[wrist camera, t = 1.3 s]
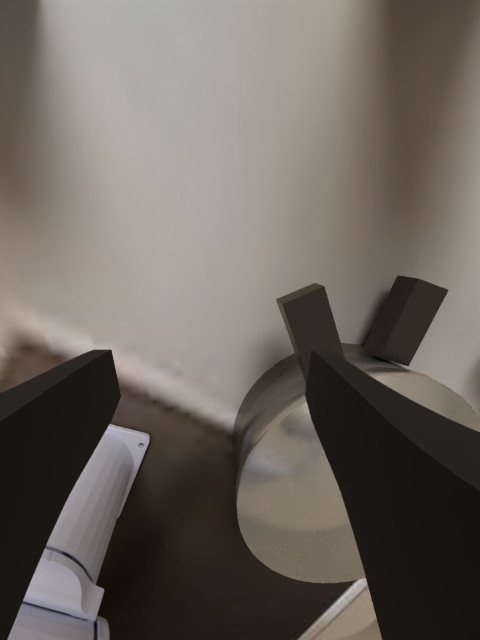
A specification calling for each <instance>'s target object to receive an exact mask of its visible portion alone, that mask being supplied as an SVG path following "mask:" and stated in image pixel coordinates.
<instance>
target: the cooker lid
mask: <svg viewBox="0 0 480 640" xmlns="http://www.w3.org/2000/svg"><path fill="white" fill-rule="evenodd" d="M276 301H277V303H278V306H279V309H280V312H281V315H282V317H283V320H284V323H285V326H286V329H287V331H288V334H289V337H290V340H291V343H292V345H293V348H294V351H295V354H296V357H297V359H298V362H299V365H300V368H301V371H302V373H303V376H304V379H305V382H306V384H307V377H308V370H309V364H310V357H311V350H329V351H331V352H333V353H335V354H337V355H338V356H340V357H342V358H343V359H345V357H344V353H343V350H342V346H341V343H340V339H339V336H338V332H337V329H336V325H335V322H334V318H333V315H332V312H331V308H330V305H329V301H328V298H327V294H326V291H325V287H324V286H322V285H319V284H316V283H314V284H311V285H309V286H307V287H304V288H302V289H299V290H297V291H295V292H292V293H290V294H288V295H285V296H283V297H280V298H278V299H276ZM360 370H362V371H363V372H365V373H367V374H368V375H370V376H371V377H373V378H374V379H376V380H378V381H379V382H381V383H383V384H384V385H386V386H388V387H389V388H391V389H393V390H395V391H396V392H398V393H400V394H402V395H403V396H405V397H407V398H409V399H411V400H413V401H414V402H416V403H418V404H420V405H422V406H424V407H426V408H428V409H430V410H432V411H434V412H436V413H438V414H440V415H442V416H444V417H446V418H449V419H451V420H453V421H455V422H457V423H459V424H462V425H464V426H466V427H468V428H471V429H473V430H476V431H478V432H480V421H479V418H478V417H477V415H476V413H475V412H474V410H473V409H472V407H471V406H470V405H469V404H468V403H467V402H466V401H465V400H464V399H463V398H462V397H461V396H460V395H458V394H457V393H455V392H454V391H453V390H451V389H450V388H448V387H446V386H445V385H443V384H441V383H439V382H438V381H436V380H434V379H432V378H430V377H428V376H426V375H424V374H421V373H418V372H415V371H411V370H407V369H401V368H394V367H374V368H365V369H360ZM305 391H306V389H305V390H303V391H302V392H300V393H298V394H297V395H295V396H294V397H292V398H291V399H290V400H288V401H287V402H286V403H285V404H283V405H282V406H281V407H280V408H278V409H277V410H276V411H275V412H274V413H273V414H272V415H271V416H270V417H269V418H268V419H267V420H266V421H265V422H264V424H263V425H262V426H261V428H260V429H259V430H258V431H257V433H256V434H255V435H254V437H253V439H252V440H251V442H250V444H249V445H248V447H247V449H246V451H245V453H244V455H243V458H242V460H241V463H240V466H239V470H238V473H237V477H236V487H235V497H236V508H237V517H238V523H239V527H240V531H241V534H242V536H243V538H244V540H245V543H246V545H247V546H248V547H249V549H250V550H251V552H252V553H253V554H254V555H255V556H256V557H257V558H258V559H259V560H260V561H261V562H262V563H263V564H265V565H266V566H267V567H269V568H270V569H272V570H274V571H276V572H278V573H280V574H282V575H284V576H287V577H290V578H293V579H296V580H301V581H306V582H316V583H338V582H347V581H353V580H358V579H363V578H366V576H365V572H364V569H363V565H362V562H361V558H360V555H359V551H358V548H357V544H356V541H355V537H354V534H353V531H352V527H351V524H350V521H349V518H348V514H347V511H346V508H345V505H344V501H343V498H342V495H341V492H340V490H339V487H338V484H337V481H336V479H335V477H334V474H333V472H332V469H331V467H330V464H329V462H328V460H327V457H326V455H325V452H324V450H323V447H322V445H321V443H320V440H319V438H318V435H317V433H316V430H315V428H314V425H313V423H312V420H311V416H310V413H309V409H308V405H307V401H306V397H305Z"/></svg>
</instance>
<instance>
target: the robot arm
mask: <svg viewBox="0 0 480 640" xmlns="http://www.w3.org/2000/svg"><path fill="white" fill-rule="evenodd" d="M120 397H121V394H120V389H119V384H118V379H117V375H116V370H115V365H114V360H113V355H112V350H92V351H89V352H87V353H84V354H82V355H80V356H78V357H75V358H73V359H71V360H69V361H67V362H65V363H63V364H61V365H59V366H57V367H55V368H53V369H51V370H49V371H47V372H45V373H43V374H41V375H39V376H37V377H35V378H33V379H31V380H29V381H26V382H24V383H22V384H20V385H18V386H16V387H13V388H11V389H9V390H7V391H5V392H3V393H0V640H110V632H109V626H108V623H107V621H106V619H104V618H102V617H99V616H97V614H98V611H99V607H100V604H101V600H102V597H103V594H104V589H103V588H101V587H98V586H97V585H96V582H97V579H98V576H99V572H100V569H101V566H102V563H103V560H104V557H105V554H106V551H107V548H108V545H109V542H110V539H111V536H112V532H113V529H114V526H115V523H116V520H117V518H118V517H119V516H120V513H121V511H122V509H123V506H124V504H125V501H126V499H127V496H128V494H129V491H130V489H131V486H132V484H133V481H134V479H135V476H136V474H137V471H138V469H139V466H140V464H141V461H142V459H143V456H144V454H145V451H146V449H147V446H148V444H149V441H150V436H149V435H148V434H147V433H143V432H139V431H135V430H131V429H127V428H123V427H119V426H115V425H111V424H110V422H111V420H112V418H113V415H114V413H115V410H116V408H117V405H118V403H119V400H120ZM305 397H306V401H307V405H308V409H309V413H310V416H311V420H312V423H313V425H314V428H315V430H316V433H317V435H318V438H319V440H320V443H321V445H322V447H323V450H324V452H325V455H326V457H327V460H328V462H329V464H330V467H331V469H332V472H333V474H334V477H335V479H336V481H337V484H338V487H339V490H340V492H341V495H342V498H343V501H344V505H345V508H346V511H347V514H348V518H349V521H350V524H351V527H352V531H353V534H354V537H355V541H356V544H357V548H358V551H359V555H360V558H361V562H362V565H363V569H364V572H365V576H366V580H367V583H368V587H369V591H370V595H371V598H372V602H373V606H374V610H375V613H376V617H377V621H378V625H379V628H380V632H381V636H382V640H480V432H478V431H476V430H473V429H471V428H468V427H466V426H464V425H462V424H459V423H457V422H455V421H453V420H451V419H449V418H446V417H444V416H442V415H440V414H438V413H436V412H434V411H432V410H430V409H428V408H426V407H424V406H422V405H420V404H418V403H416V402H414V401H413V400H411V399H409V398H407V397H405V396H403V395H402V394H400V393H398V392H396V391H395V390H393V389H391V388H389V387H388V386H386V385H384V384H383V383H381V382H379V381H378V380H376V379H374V378H373V377H371V376H370V375H368V374H367V373H365V372H363V371H362V370H360V369H359V368H357V367H356V366H354V365H352V364H351V363H349V362H348V361H346V360H345V359H343V358H342V357H340V356H338V355H337V354H335V353H333V352H331V351H329V350H311V357H310V364H309V370H308V377H307V384H306V391H305ZM140 443H143V444H144V445H141V444H140Z"/></svg>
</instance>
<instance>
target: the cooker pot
mask: <svg viewBox="0 0 480 640" xmlns="http://www.w3.org/2000/svg"><path fill="white" fill-rule="evenodd" d="M447 292H448V290H447V289H444V288H442V287H439V286H436V285H434V284H431V283H428V282H426V281H423V280H421V279H417V278H411V277H405V276H398V275H397V277H396V280H395V282H394V284H393V286H392V288H391V290H390V292H389V294H388V297H387V299H386V301H385V303H384V305H383V307H382V309H381V311H380V314H379V316H378V318H377V320H376V322H375V324H374V326H373V328H372V331H371V333H370V335H369V337H368V339H367V341H366V343H365V345H364V346H360V345H356V344H346V343H341V346H342V350H343V353H344V357H345V360H346V361H348V362H349V363H351V364H352V365H354V366H356V367H357V368H359V369H365V368H374V367H394V368H401V369H405V368H404V367H402V366H401V365H399V364H403V365H406V366H409V364H410V362H411V360H412V359H413V357H414V355H415V353H416V351H417V349H418V347H419V345H420V343H421V341H422V340H423V338H424V336H425V334H426V332H427V330H428V328H429V326H430V324H431V322H432V320H433V319H434V317H435V315H436V313H437V311H438V309H439V307H440V305H441V303H442V301H443V300H444V298H445V296H446V294H447ZM397 363H399V364H397ZM305 389H306V382H305V379H304V376H303V373H302V371H301V368H300V365H299V362H298V359H297V357H296V354H293V355H290V356H289V357H287V358H285V359H284V360H282V361H280V362H278V363H277V364H276V365H274V366H273V367H272V368H270V369H269V370H268V371H267V372H266V373H265V374H264V375H263V376H262V377H260V378H259V379H258V380H257V382H256V383H255V384H254V385H253V387H252V388H251V389H250V390H249V392H248V394H247V395H246V397H245V398H244V400H243V402H242V404H241V406H240V409H239V411H238V414H237V417H236V421H235V425H234V432H233V444H234V451H235V459H236V466H237V473H238V470H239V466H240V463H241V460H242V458H243V455H244V453H245V451H246V449H247V447H248V445H249V444H250V442H251V440H252V439H253V437H254V435H255V434H256V433H257V431H258V430H259V429H260V428H261V426H262V425H263V424H264V422H265V421H266V420H267V419H268V418H269V417H270V416H271V415H272V414H273V413H274V412H275V411H276V410H277V409H278V408H280V407H281V406H282V405H283V404H285V403H286V402H287V401H288V400H290V399H291V398H292V397H294V396H295V395H297V394H298V393H300V392H302V391H303V390H305Z"/></svg>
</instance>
